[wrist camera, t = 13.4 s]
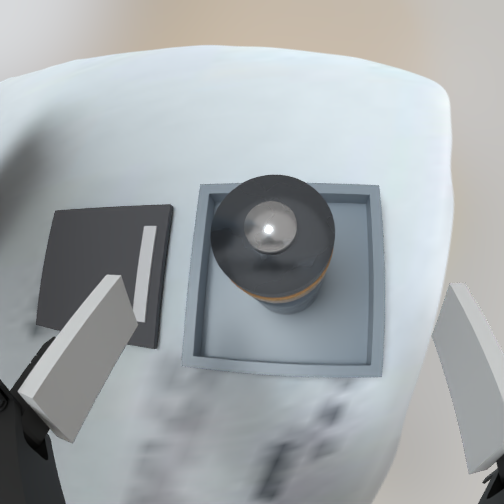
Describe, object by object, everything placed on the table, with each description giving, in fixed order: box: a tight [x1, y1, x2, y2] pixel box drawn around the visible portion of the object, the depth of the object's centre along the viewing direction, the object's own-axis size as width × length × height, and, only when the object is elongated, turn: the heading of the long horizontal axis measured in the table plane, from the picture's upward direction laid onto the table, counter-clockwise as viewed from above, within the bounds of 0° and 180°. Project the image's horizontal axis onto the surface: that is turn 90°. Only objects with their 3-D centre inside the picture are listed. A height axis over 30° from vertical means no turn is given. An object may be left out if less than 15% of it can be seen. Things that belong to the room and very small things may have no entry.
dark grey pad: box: [36, 204, 173, 349], centre depth 26 cm, size 14×12×1 cm
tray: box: [182, 183, 385, 378], centre depth 23 cm, size 14×14×2 cm
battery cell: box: [210, 175, 335, 315], centre depth 18 cm, size 5×5×12 cm
